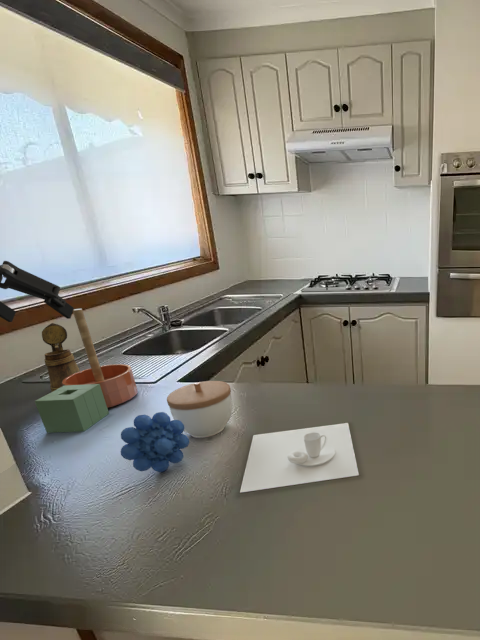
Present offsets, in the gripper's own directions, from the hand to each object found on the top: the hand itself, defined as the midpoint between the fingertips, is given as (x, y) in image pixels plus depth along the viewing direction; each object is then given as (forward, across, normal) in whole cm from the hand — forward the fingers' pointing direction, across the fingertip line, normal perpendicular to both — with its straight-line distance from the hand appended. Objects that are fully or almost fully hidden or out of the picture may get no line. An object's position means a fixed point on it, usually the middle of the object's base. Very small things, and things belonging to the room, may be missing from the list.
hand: (41, 315), depth 93 cm
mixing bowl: (+26, 0, +11) cm, 28 cm away
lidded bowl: (+12, -36, +24) cm, 45 cm away
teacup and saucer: (+5, -59, +32) cm, 67 cm away
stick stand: (+16, -2, +20) cm, 26 cm away
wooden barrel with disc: (+34, +19, +2) cm, 39 cm away
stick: (+25, 0, +10) cm, 27 cm away
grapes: (+1, -35, +36) cm, 50 cm away
